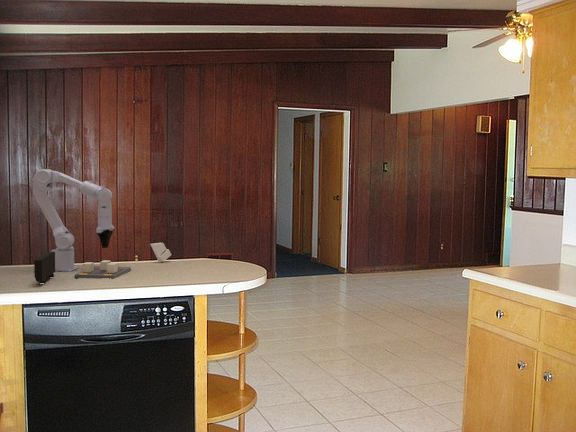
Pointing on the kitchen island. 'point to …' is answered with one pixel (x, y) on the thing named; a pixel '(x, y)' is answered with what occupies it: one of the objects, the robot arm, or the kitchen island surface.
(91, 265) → the beige block
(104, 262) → the tab
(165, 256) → the white angled block
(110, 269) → the cream squarish block
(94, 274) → the switch bank
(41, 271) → the digital display
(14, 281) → the kitchen island surface
